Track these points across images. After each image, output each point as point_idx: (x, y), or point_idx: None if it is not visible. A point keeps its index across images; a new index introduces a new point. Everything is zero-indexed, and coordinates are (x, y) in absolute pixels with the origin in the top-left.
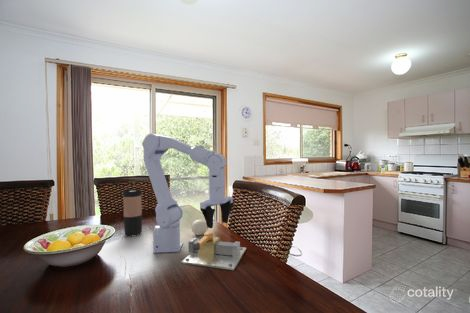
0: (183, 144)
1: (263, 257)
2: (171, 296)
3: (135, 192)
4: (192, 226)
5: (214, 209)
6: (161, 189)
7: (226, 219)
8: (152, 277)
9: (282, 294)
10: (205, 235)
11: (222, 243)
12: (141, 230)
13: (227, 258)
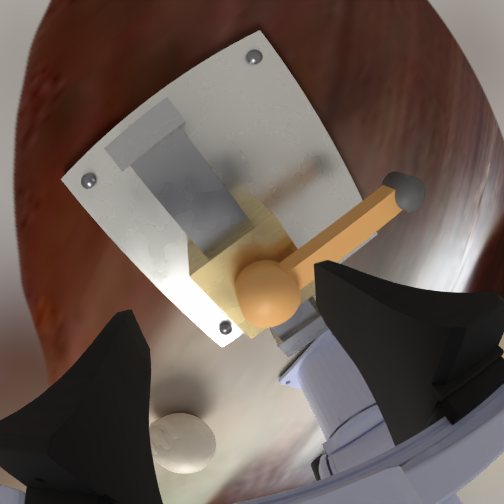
0: None
1: (63, 51)
2: (456, 86)
3: None
4: (215, 449)
5: (471, 320)
6: None
7: (124, 331)
8: (450, 205)
9: None
10: (298, 290)
11: (204, 207)
12: (317, 464)
13: (219, 122)
